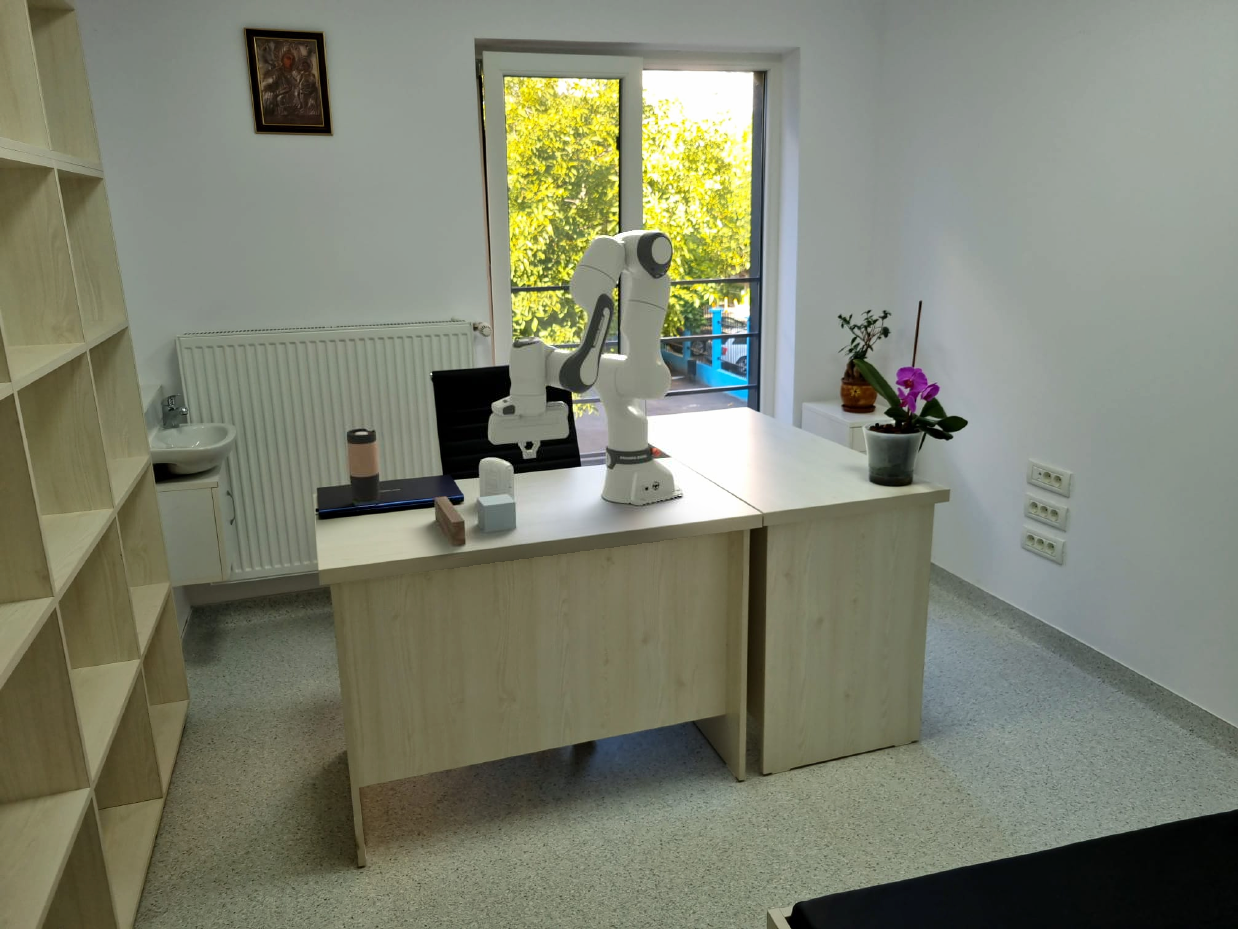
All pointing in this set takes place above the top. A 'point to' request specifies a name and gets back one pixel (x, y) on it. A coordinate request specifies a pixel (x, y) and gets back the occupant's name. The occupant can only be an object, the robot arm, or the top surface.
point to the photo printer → (496, 477)
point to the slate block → (496, 512)
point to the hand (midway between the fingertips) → (529, 457)
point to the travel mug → (363, 465)
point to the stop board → (450, 521)
